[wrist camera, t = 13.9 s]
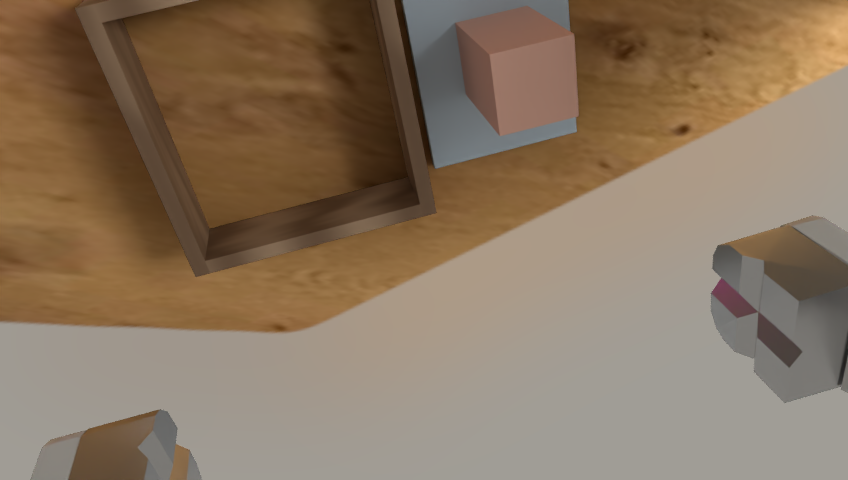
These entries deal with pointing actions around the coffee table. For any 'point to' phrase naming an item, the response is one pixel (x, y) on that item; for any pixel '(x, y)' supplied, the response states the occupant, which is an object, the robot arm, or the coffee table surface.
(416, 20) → the mat
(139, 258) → the coffee table surface
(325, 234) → the wooden frame
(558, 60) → the block
